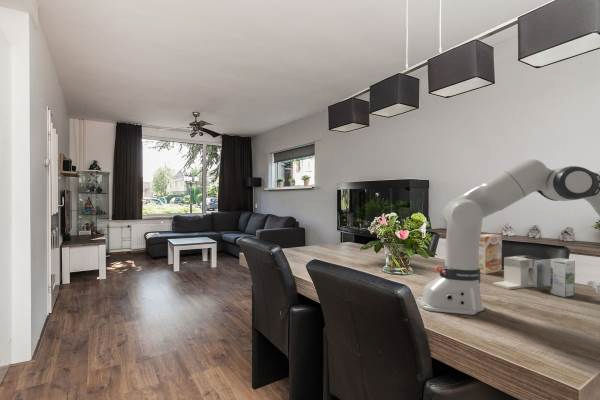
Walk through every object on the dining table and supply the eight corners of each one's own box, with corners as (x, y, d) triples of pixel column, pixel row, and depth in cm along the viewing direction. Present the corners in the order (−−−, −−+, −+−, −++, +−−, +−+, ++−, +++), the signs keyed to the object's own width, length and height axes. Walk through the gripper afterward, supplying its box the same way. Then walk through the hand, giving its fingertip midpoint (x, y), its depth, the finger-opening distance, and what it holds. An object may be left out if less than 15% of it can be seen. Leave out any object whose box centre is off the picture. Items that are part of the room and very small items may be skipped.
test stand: (550, 284, 150) (550, 257, 150) (509, 289, 141) (509, 260, 141) (533, 279, 157) (533, 254, 157) (492, 284, 149) (492, 257, 149)
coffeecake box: (485, 274, 169) (485, 236, 169) (472, 271, 175) (472, 235, 175) (502, 271, 176) (502, 234, 176) (489, 268, 183) (489, 233, 183)
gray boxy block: (556, 284, 141) (556, 259, 141) (537, 287, 137) (537, 260, 137) (532, 279, 150) (532, 255, 150) (513, 281, 146) (513, 256, 146)
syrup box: (559, 292, 137) (559, 257, 137) (575, 296, 131) (575, 260, 131) (549, 293, 135) (550, 258, 135) (565, 297, 129) (565, 261, 129)
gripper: (664, 280, 112) (614, 271, 125) (627, 285, 106) (579, 276, 119) (664, 298, 112) (614, 288, 125) (627, 305, 106) (578, 293, 119)
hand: (596, 282), depth 122 cm, fingers open, 8 cm apart
